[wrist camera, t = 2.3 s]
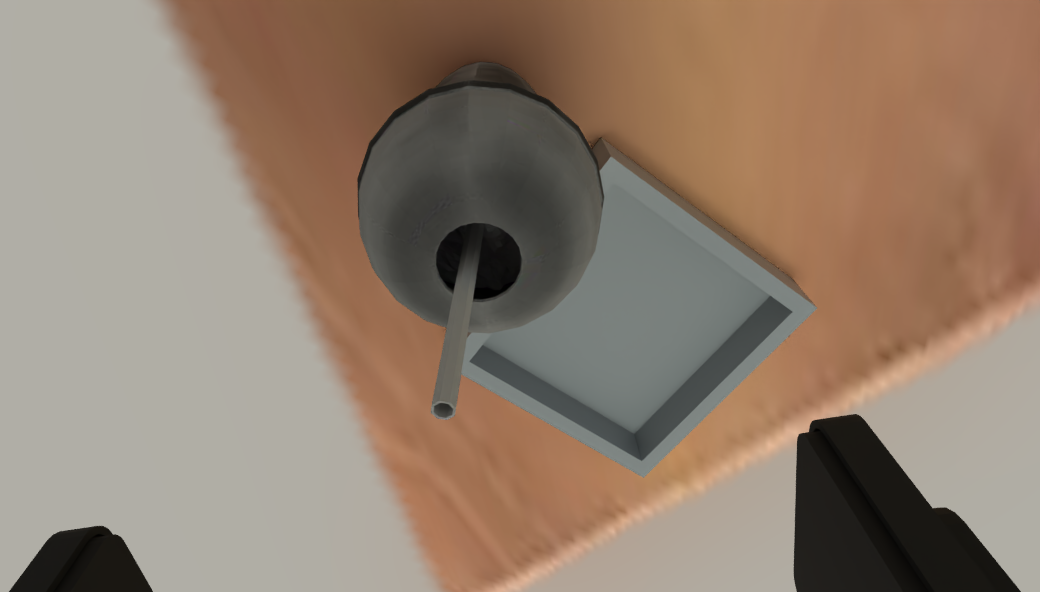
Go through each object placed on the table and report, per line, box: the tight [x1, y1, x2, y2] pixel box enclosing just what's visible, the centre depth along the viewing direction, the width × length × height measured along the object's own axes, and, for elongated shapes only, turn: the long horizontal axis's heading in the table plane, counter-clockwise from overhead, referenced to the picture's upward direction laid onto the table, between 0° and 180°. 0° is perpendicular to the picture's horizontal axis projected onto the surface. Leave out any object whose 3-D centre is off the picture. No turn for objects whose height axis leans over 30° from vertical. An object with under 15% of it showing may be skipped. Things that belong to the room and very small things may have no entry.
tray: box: [461, 138, 817, 478], centre depth 34 cm, size 12×12×3 cm
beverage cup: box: [358, 62, 604, 420], centre depth 22 cm, size 7×7×20 cm
